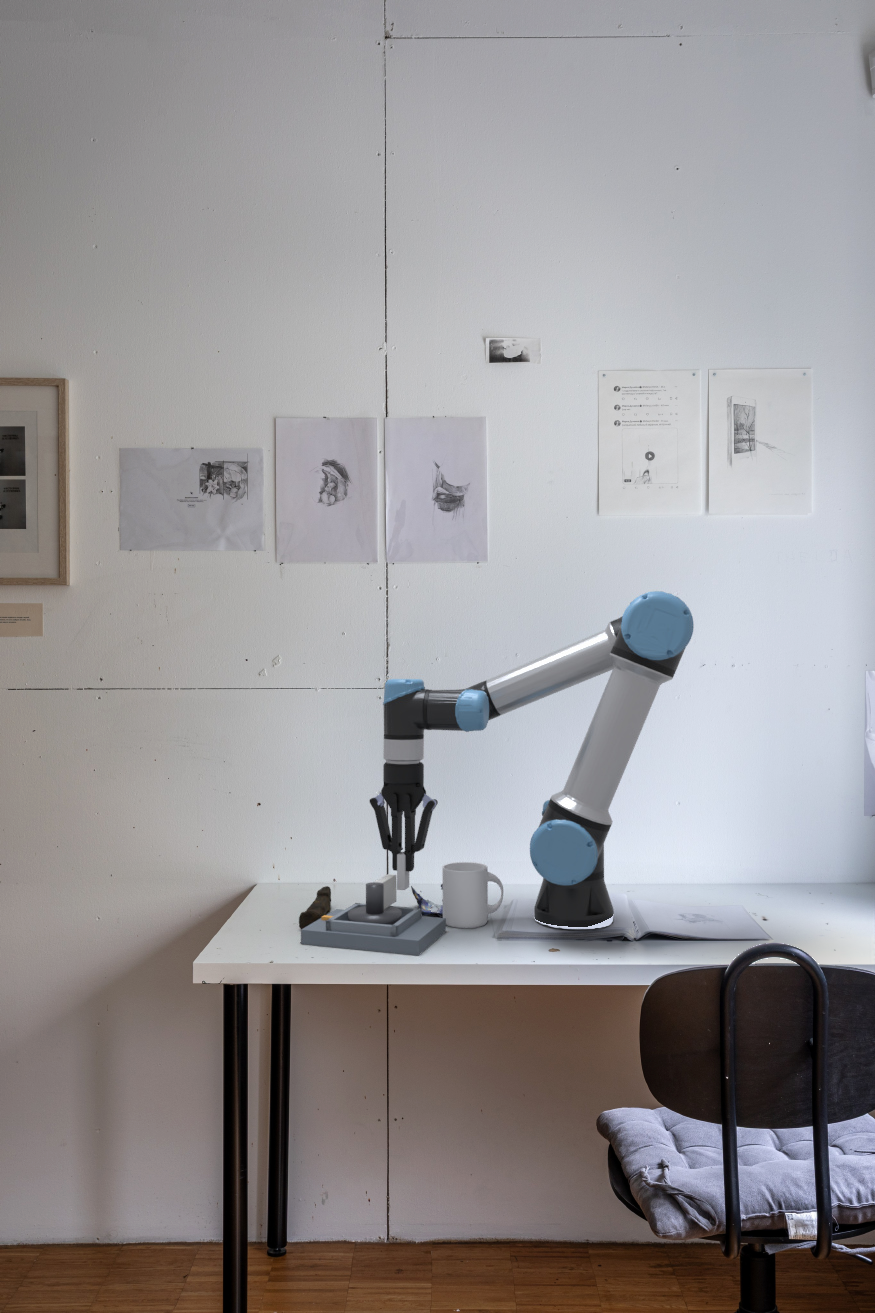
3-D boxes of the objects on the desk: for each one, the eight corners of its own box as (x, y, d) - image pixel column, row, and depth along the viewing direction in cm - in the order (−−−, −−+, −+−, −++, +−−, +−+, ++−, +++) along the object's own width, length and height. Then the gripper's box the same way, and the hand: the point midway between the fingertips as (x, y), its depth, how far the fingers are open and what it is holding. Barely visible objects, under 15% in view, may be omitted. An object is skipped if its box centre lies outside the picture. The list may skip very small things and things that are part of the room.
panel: (445, 932, 172) (445, 909, 172) (418, 955, 158) (418, 930, 158) (336, 922, 179) (336, 900, 179) (300, 944, 165) (300, 920, 165)
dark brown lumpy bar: (319, 933, 173) (319, 907, 173) (298, 932, 173) (298, 907, 173) (341, 907, 192) (341, 884, 192) (322, 907, 192) (322, 884, 192)
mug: (510, 926, 176) (510, 869, 176) (449, 930, 173) (448, 872, 173) (496, 914, 184) (496, 860, 184) (437, 918, 181) (437, 863, 181)
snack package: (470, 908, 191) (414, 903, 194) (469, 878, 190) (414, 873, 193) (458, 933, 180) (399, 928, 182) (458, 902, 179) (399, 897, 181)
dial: (389, 931, 162) (389, 892, 162) (339, 927, 165) (339, 888, 166) (415, 912, 175) (415, 876, 175) (368, 908, 178) (368, 873, 178)
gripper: (442, 760, 176) (442, 886, 176) (378, 758, 180) (377, 881, 179) (430, 764, 169) (430, 895, 168) (363, 762, 173) (363, 890, 172)
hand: (403, 888), depth 174 cm, fingers closed
